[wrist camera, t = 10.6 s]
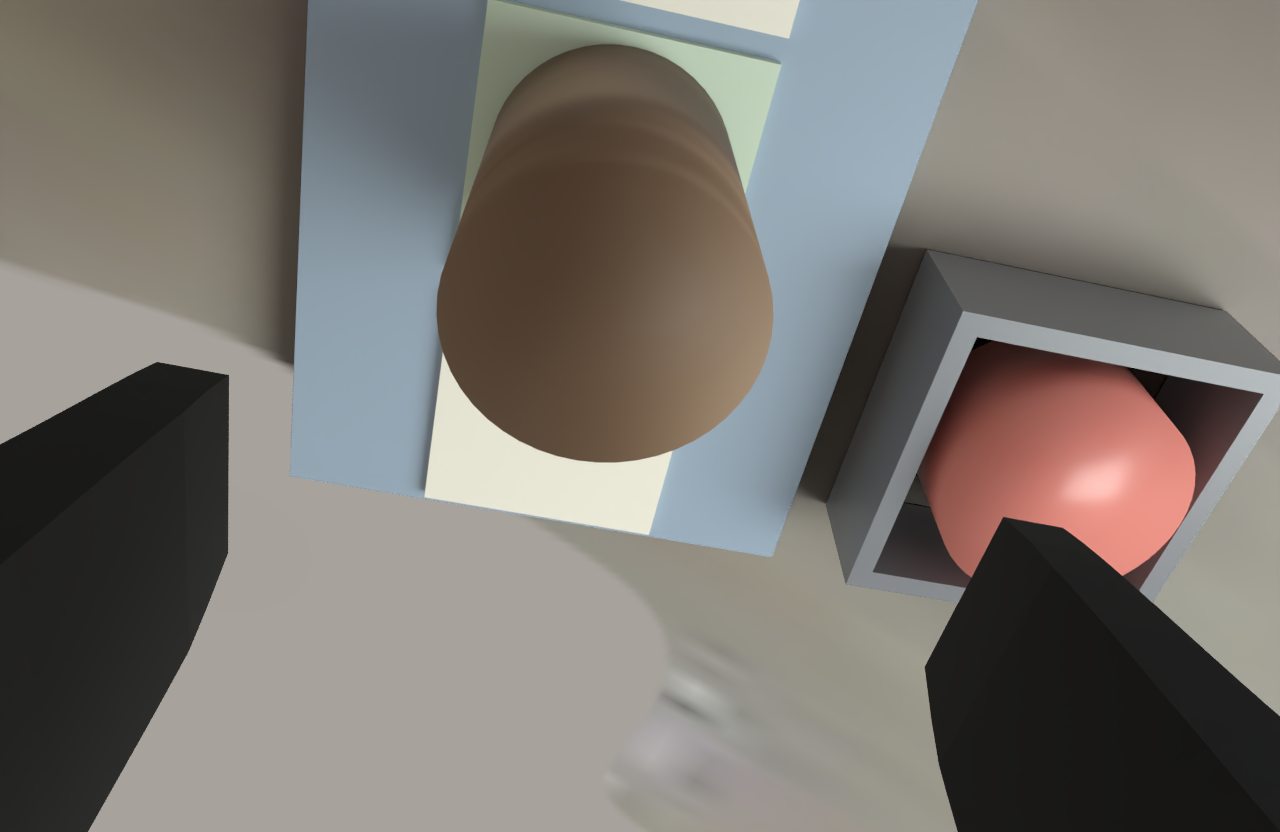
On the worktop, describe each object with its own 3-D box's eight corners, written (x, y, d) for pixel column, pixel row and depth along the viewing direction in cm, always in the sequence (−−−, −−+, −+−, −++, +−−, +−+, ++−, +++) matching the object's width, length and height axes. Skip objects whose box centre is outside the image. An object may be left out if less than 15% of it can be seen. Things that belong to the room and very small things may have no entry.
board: (1249, -801, 12) (1298, -844, 11) (767, 532, 22) (772, 563, 21) (370, -1103, 11) (348, -1177, 10) (300, 453, 21) (287, 482, 20)
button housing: (1226, 311, 19) (1298, 378, 17) (1086, 550, 22) (1133, 632, 20) (926, 249, 19) (962, 311, 17) (826, 505, 22) (845, 584, 20)
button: (1179, 354, 19) (1244, 424, 17) (1078, 533, 22) (1123, 613, 19) (959, 309, 19) (998, 376, 17) (879, 498, 21) (904, 576, 19)
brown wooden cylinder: (760, 73, 16) (816, 199, 11) (699, 300, 18) (726, 484, 13) (505, 19, 16) (455, 128, 11) (474, 258, 18) (421, 434, 13)
